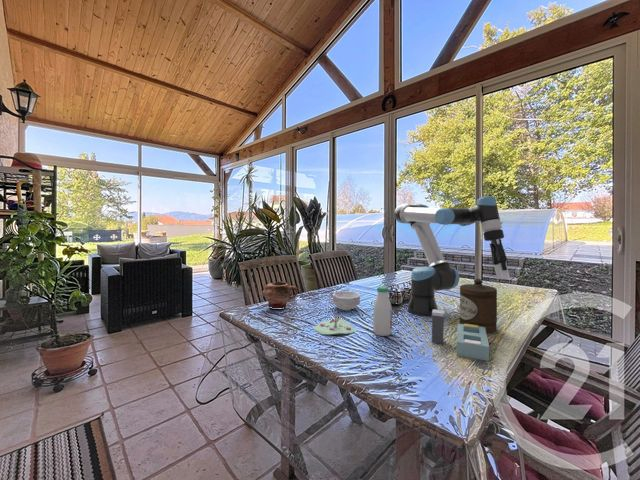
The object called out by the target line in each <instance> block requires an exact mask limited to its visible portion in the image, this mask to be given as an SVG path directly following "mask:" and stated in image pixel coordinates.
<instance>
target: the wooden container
mask: <svg viewBox="0 0 640 480" xmlns="http://www.w3.org/2000/svg"><path fill="white" fill-rule="evenodd" d="M497 296H498V289H497V288H496V287H494V286H491V285H485V284H483V279H480V278H475V279H474V280H473V283H472V284H471V283H468V284H465V283H464V284H462V285H460V286H459V311H458V312H459V313H458V314H459V321H458V324H471V325H478V326H480V327H485V330H486V334H491V333H495V332H496V331H497V328H498V326H497V323H498V321H497V319H498V298H497Z"/></svg>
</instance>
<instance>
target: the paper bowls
mask: <svg viewBox="0 0 640 480" xmlns="http://www.w3.org/2000/svg"><path fill="white" fill-rule="evenodd" d="M332 303H333V305H335V306H336V308H337V309H338V308H339V309H338V310H340V309H342V310H341V311H352V310H351V309H353V310H355V309H356V308H357V306H359V305H360V303H361V295H360V293H358V292H356V291H355V292H354V291H349V290H339V291H336V292H334V293H332ZM354 308H355V309H354Z"/></svg>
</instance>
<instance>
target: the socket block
mask: <svg viewBox="0 0 640 480" xmlns="http://www.w3.org/2000/svg"><path fill="white" fill-rule="evenodd" d="M456 329H457V330H456V331H457V333H456V356H459V357H465V358H470V359H476V360H481V361H487V362H489V361H490V344H489V340H488V339H489V338H488V335H487V334H488V333H486V330H485V327H480V326H478V325H471V324H459V323H457V328H456Z"/></svg>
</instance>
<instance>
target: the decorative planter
mask: <svg viewBox="0 0 640 480" xmlns="http://www.w3.org/2000/svg"><path fill="white" fill-rule="evenodd" d="M292 290H293V291H295V293H294V295H292V296H291V291H292ZM298 293H299V290H298V287H297V286H295V285H289V284H288V282H283V281H276V282H275V281H274V282H270V283H268V284H266V285H265V287H264V290H262V292H261V295H262V296H263V297H264V299H266V300H267V303H268V308H269V307H272V308H283V307H286V308H287V302H291V300H293V299H294V298H295V297H297V295H298Z"/></svg>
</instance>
